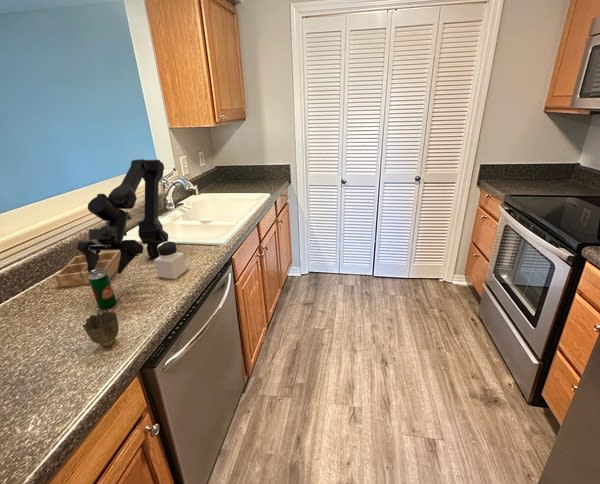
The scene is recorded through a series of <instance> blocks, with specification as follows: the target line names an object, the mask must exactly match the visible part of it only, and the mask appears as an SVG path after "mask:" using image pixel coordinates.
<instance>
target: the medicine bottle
mask: <svg viewBox="0 0 600 484" xmlns="http://www.w3.org/2000/svg"><path fill="white" fill-rule="evenodd" d="M176 244H177V243H176V242H175V241H169V240H168V241H167V242H163V243H161V244H159V245H158V247H157V248H158V252H159V257H158V258H156V259H154V264H155V267H156V272H157V275H158V278H163V279H169V280H176V279H177V278H178V277H179V276H181V275H182V274H184V273H185V272H186V271H188V270H187V269H188V268H187V264H186V260H185V259H186V258H185V255H184V253H183V252H178V249H177V245H176Z"/></svg>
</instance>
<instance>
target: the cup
mask: <svg viewBox="0 0 600 484" xmlns="http://www.w3.org/2000/svg"><path fill="white" fill-rule="evenodd" d="M82 328H83V329H84V331H85V332H86V334H87V337H89V339H90V341H92V342H93V343H94V344H97V345H99V346H100V347H101V348H109V347H111V346H113V345H114V344H115V343H116V341H117V339H116V338H117V336H118V334H119V321H118V316H117V312H116V311H113V310H111V311H110V310H109V309H107V310H106V311H105V310H102V312H101V313H100V312H97V313H96V314H90V315H89V316H88V318H85V323H82Z"/></svg>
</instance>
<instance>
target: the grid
mask: <svg viewBox="0 0 600 484" xmlns="http://www.w3.org/2000/svg"><path fill="white" fill-rule="evenodd" d="M98 255H100V257H99V260H98V262H97V264H96V267H95V269H94V270H97V269H104V270H105V271H106V272H107V273H108V276H109V279H110V280H111V279H112V277H113V275H114V274H115V273H116V272H117V271H118V265H119V261H120V256H121V254H120V250H114V251H107V252H100V253H99V254H98ZM88 274H89V272H88V266H87V260H86V257H85V255H84V254H83V255H75V256H74V257H72V259H70V261H69V262H68V263H67V264H66V265H65V266H64V267H63V268H62V269H61V270H60V271H59V272H58V273H57V274H56V275H55V276H54V277H55V279H56V282H57V285H58V287H59V288H67V287H73V286H81V285H82V286H83V285H90V282H89V280H88V276H89V275H88Z"/></svg>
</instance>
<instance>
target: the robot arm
mask: <svg viewBox="0 0 600 484" xmlns="http://www.w3.org/2000/svg"><path fill="white" fill-rule="evenodd" d="M164 171H165V165H164V163H163V162H161V160H160V159H144V158H143V159H142V158H141V159H133V160H131V161H130V167H129V169H128V170H127V172H126V174H125V176H124V178H123V180H122V181H121V182H120V183H121V184H120V185H118V186H116V187H115V188H113V189H112V190H111V192H109V194H108V196H107V195H106V193H97V194H96V196H95V197H93V198H92V199H91V200H90V201H89V202H88V203H87V210H88V211H89V213H91V214H93V215H95V216H96V217H97V218H99V219H100V220H102V221H104V222H105V225H104V226H103V225H101V228H89V229H88V240H80V241H78V242H77V244H76V248H75V249H76V251H79V252H80V253H82V254H83V255H85V257H86V260H87V266H88V272H89V273H90V272H91V271H94V269H95V267H96V264H97V262H98V260H99V257H100V255H98V254H99V253H101V251H119V252H120V255H121V256H120V261H119V265H118V268H117V271H116V272H117V274H120V275H121V274H122V272H123V271H124V270H125V269H126V268H127V266H129V264H130V263H131V262H132V261H133V260H134V259H135V257H139V254H143V253H144V245H147V246H146V250H147V254H148V257H149V260H155V259H156V258H158V257H159V252H158V248H157V247H158V245H159V244H161V243H163V242H168V241H169V233H167V232H166V231H165V229H163V224H162V223H161V221H160V219H159V183H160V181H161V180H162V179H163V177H164ZM142 179H143V181H144V214H143V215H144V218H143V219H142V220H141V221H139V222H138V231H137V233H138V237H139V239H140V241H141V243H142V244H141V243H140V242H139V241H137V240H135V239H124V237H127V232H126V228H127V223H128V221H129V220H132V216H131V215H130V213H129V211H125V210H131V209H133V208H134V207H135V205H136V201H137V195H136V192H137V190H138V187H139V185H140V183H141V181H142ZM92 240H96V241H95V242H94V241H92ZM96 242H97V243H96Z"/></svg>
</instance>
